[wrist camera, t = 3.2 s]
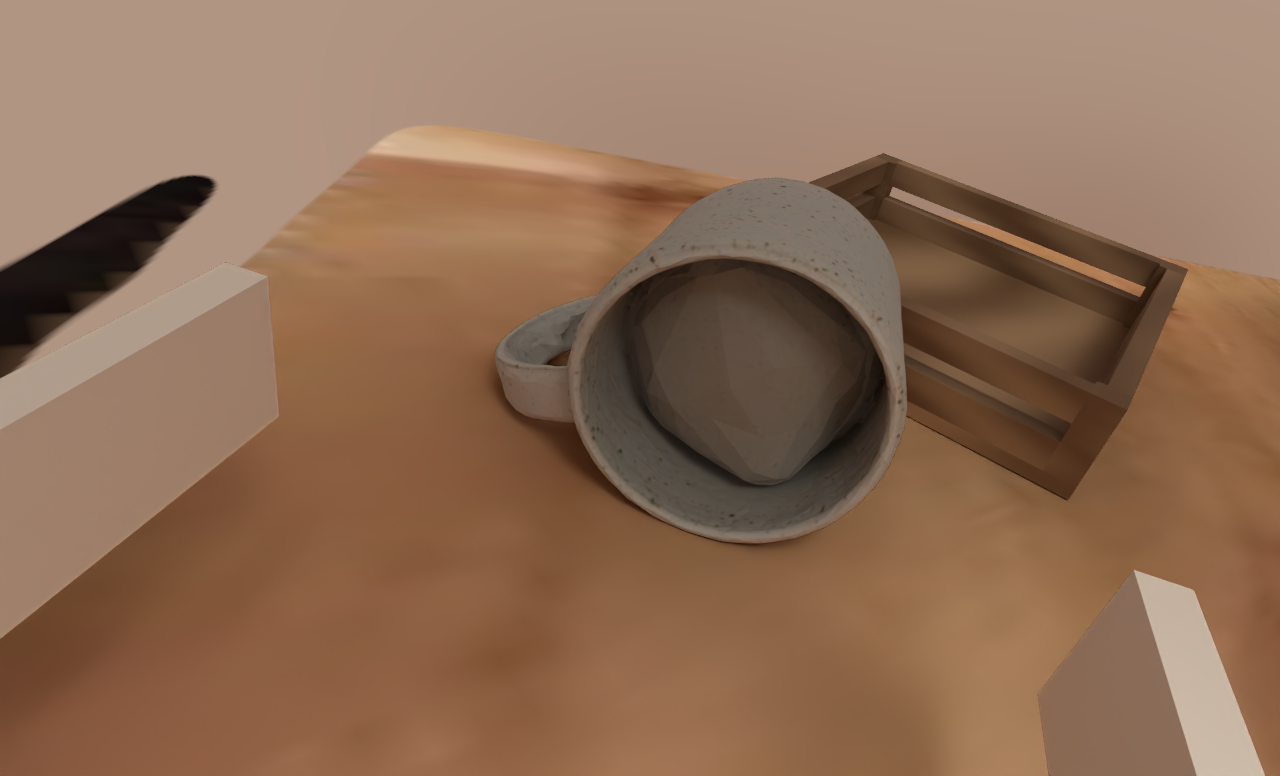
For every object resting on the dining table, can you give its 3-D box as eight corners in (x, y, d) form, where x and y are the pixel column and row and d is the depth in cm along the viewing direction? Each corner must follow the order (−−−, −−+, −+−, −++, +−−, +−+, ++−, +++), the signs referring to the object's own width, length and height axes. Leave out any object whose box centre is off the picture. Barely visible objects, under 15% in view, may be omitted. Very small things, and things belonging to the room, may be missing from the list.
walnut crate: (1144, 338, 35) (1188, 269, 33) (1067, 500, 24) (1127, 410, 22) (859, 218, 41) (883, 153, 39) (693, 303, 30) (715, 219, 28)
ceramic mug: (856, 410, 26) (946, 183, 22) (839, 588, 19) (963, 310, 15) (551, 319, 28) (580, 90, 23) (436, 456, 21) (447, 169, 17)
